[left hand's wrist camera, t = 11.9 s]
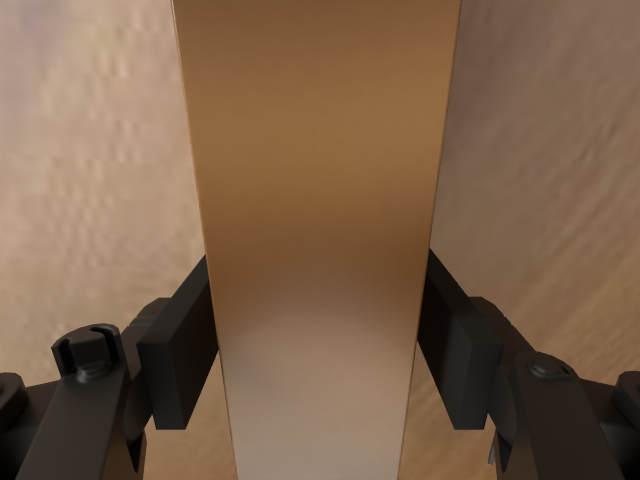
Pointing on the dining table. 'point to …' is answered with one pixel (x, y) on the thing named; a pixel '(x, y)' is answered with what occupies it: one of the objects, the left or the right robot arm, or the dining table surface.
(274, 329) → the bar
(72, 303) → the dining table surface
